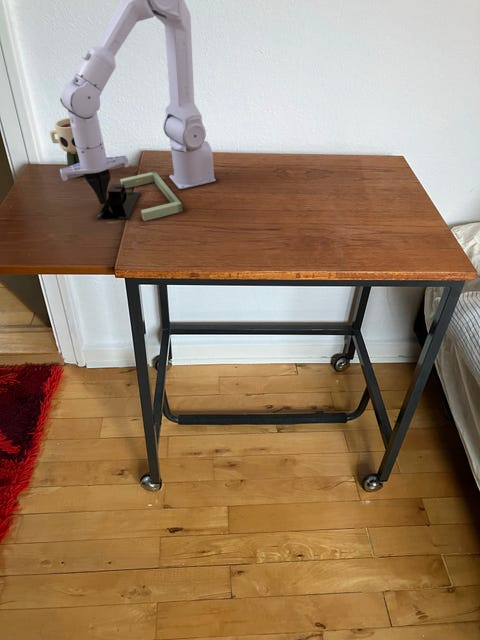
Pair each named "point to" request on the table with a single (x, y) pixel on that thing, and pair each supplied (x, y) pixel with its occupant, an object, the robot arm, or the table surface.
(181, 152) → the robot arm
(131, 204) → the build plate
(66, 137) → the character mug
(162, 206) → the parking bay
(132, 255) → the table surface
